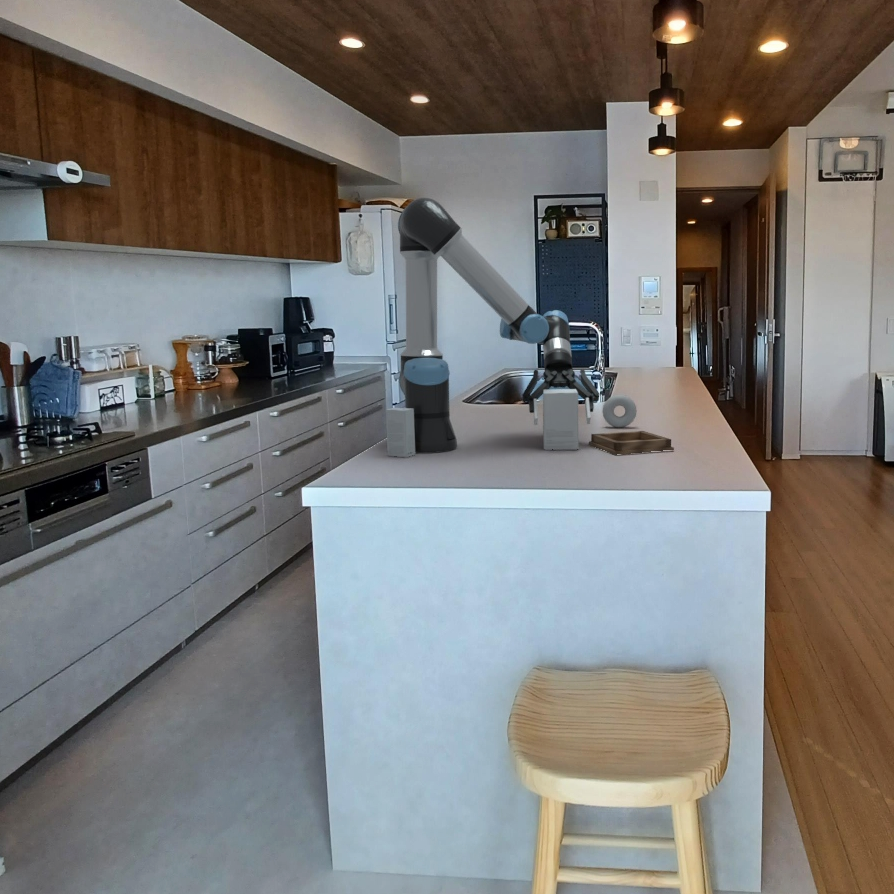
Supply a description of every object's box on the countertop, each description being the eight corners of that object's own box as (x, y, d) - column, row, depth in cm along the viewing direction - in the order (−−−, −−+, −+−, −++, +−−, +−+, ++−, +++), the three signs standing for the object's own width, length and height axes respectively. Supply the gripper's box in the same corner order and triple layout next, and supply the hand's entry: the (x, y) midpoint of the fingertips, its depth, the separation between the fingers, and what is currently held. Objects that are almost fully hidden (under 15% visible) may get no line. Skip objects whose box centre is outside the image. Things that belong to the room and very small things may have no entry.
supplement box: (577, 444, 230) (577, 388, 227) (578, 450, 221) (579, 392, 219) (542, 444, 231) (542, 388, 228) (543, 450, 222) (543, 392, 220)
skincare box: (415, 455, 219) (414, 408, 217) (406, 458, 215) (405, 410, 213) (396, 453, 222) (394, 407, 220) (386, 456, 218) (385, 409, 216)
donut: (602, 428, 256) (602, 395, 255) (602, 426, 260) (602, 393, 258) (636, 428, 255) (637, 395, 253) (636, 427, 258) (636, 393, 256)
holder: (615, 455, 213) (615, 443, 212) (588, 445, 228) (588, 434, 228) (673, 451, 217) (674, 439, 216) (643, 441, 232) (643, 430, 232)
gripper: (602, 366, 238) (609, 428, 226) (511, 368, 239) (513, 430, 227) (605, 348, 232) (612, 411, 220) (512, 350, 233) (514, 413, 221)
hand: (562, 421), depth 223 cm, fingers open, 13 cm apart
